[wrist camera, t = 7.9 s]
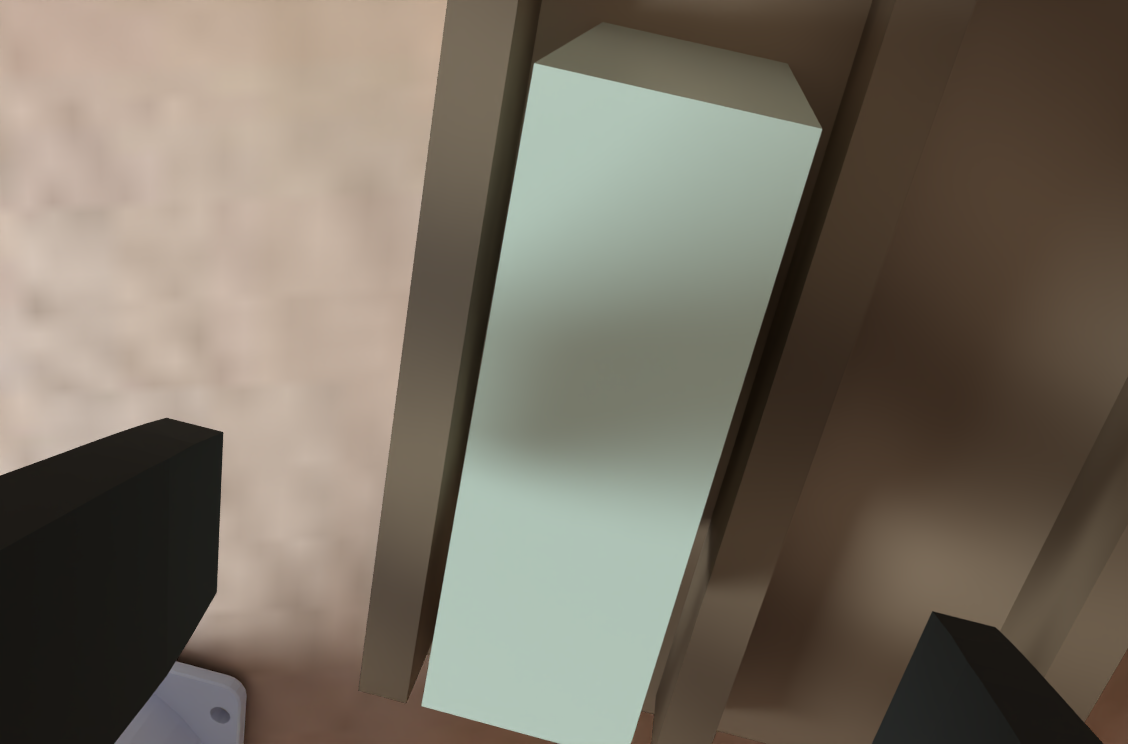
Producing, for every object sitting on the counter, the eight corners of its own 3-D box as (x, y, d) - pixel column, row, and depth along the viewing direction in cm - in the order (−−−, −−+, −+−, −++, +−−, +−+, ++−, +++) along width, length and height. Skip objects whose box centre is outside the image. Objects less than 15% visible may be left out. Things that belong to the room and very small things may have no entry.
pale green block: (654, 527, 19) (625, 761, 13) (508, 489, 19) (421, 706, 14) (787, 63, 15) (822, 128, 10) (602, 22, 15) (533, 62, 10)
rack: (981, 767, 21) (1018, 886, 18) (381, 609, 22) (332, 702, 19) (1456, -126, 14) (1639, -144, 11) (507, -315, 14) (455, -375, 12)
